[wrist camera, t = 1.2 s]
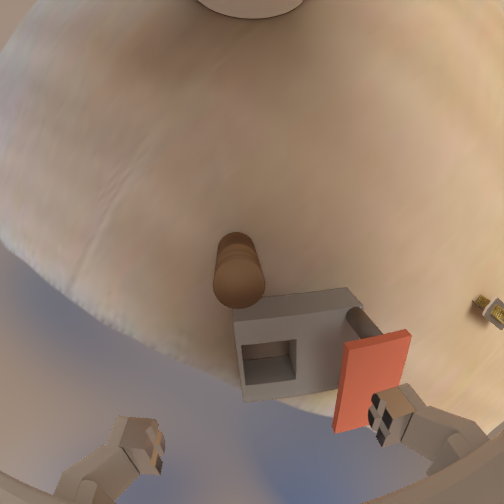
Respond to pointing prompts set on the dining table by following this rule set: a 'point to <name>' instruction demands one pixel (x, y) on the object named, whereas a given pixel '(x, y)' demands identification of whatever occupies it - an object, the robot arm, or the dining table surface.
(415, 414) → the robot arm
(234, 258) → the walnut peg
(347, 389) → the socket stand
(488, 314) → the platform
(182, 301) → the dining table surface
